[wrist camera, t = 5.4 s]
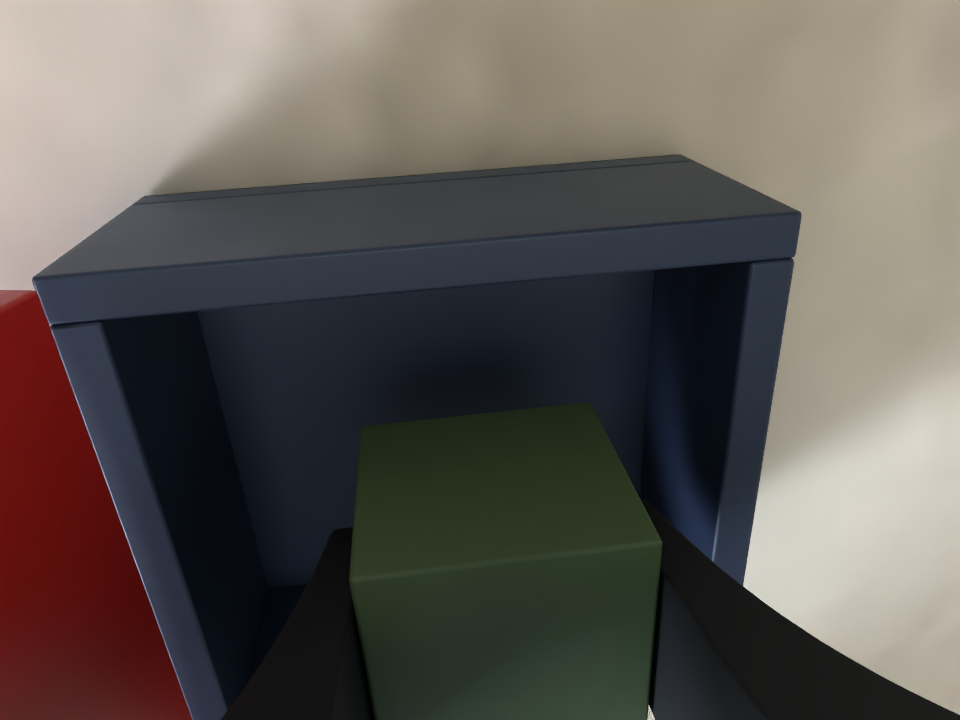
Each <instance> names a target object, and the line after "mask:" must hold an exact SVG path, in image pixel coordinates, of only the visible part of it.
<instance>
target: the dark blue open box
mask: <svg viewBox="0 0 960 720" xmlns="http://www.w3.org/2000/svg"><path fill="white" fill-rule="evenodd" d="M801 217H802V215H801V212H800V211H797V210H795V209H793V208H791V207H789V206H787V205H785V204H783V203H781V202H779V201H777V200H774V199H772V198H770V197H768V196H766V195H764V194H762V193H760V192H758V191H756V190H754V189H752V188H749V187H747V186H745V185H743V184H741V183H739V182H737V181H735V180H733V179H731V178H729V177H726V176H724V175H722V174H720V173H718V172H716V171H714V170H712V169H710V168H708V167H706V166H704V165H701V164H699V163H697V162H695V161H693V160H691V159H689V158H687V157H685V156H683V155H670V156H657V157H645V158H632V159H619V160H606V161H593V162H580V163H567V164H554V165H541V166H528V167H515V168H502V169H490V170H477V171H464V172H451V173H438V174H425V175H412V176H399V177H386V178H373V179H360V180H348V181H335V182H322V183H309V184H296V185H283V186H270V187H257V188H244V189H231V190H218V191H205V192H193V193H180V194H167V195H154V196H144V197H142V198H141V199H140V200H138V201H137V202H136V203H134V204H133V205H132V206H130V207H129V208H127V209H126V210H125V211H123V212H122V213H120V214H119V215H118V216H116V217H115V218H114V219H112V220H111V221H109V222H108V223H107V224H105V225H104V226H103V227H101V228H100V229H99V230H97V231H96V232H94V233H93V234H92V235H90V236H89V237H88V238H86V239H85V240H83V241H82V242H81V243H79V244H78V245H77V246H75V247H74V248H73V249H71V250H70V251H68V252H67V253H66V254H64V255H63V256H62V257H60V258H59V259H57V260H56V261H55V262H53V263H52V264H51V265H49V266H48V267H46V268H45V269H44V270H42V271H41V272H40V273H38V274H37V275H36V276H34V277H33V285H34V287H35V290H36V292H37V294H38V295H39V298H40V301H41V304H42V306H43V309H44V312H45V315H46V317H47V320H48V323H49V324H51V326H50V328H51V331H52V334H53V337H54V339H55V342H56V345H57V348H58V350H59V353H60V356H61V359H62V361H63V364H64V367H65V370H66V372H67V375H68V378H69V381H70V383H71V386H72V389H73V392H74V395H75V397H76V400H77V403H78V406H79V408H80V411H81V414H82V417H83V419H84V422H85V425H86V428H87V430H88V433H89V436H90V439H91V441H92V444H93V447H94V450H95V452H96V455H97V458H98V461H99V463H100V466H101V469H102V472H103V474H104V477H105V480H106V483H107V485H108V488H109V491H110V494H111V496H112V499H113V502H114V505H115V507H116V510H117V513H118V516H119V518H120V521H121V524H122V527H123V529H124V532H125V535H126V538H127V540H128V543H129V546H130V549H131V551H132V554H133V557H134V560H135V562H136V565H137V568H138V571H139V573H140V576H141V579H142V582H143V584H144V587H145V590H146V593H147V595H148V598H149V601H150V604H151V606H152V609H153V612H154V615H155V617H156V620H157V623H158V626H159V628H160V631H161V634H162V637H163V639H164V642H165V645H166V648H167V650H168V653H169V656H170V659H171V661H172V664H173V667H174V670H175V672H176V675H177V678H178V681H179V683H180V686H181V689H182V692H183V694H184V697H185V700H186V703H187V705H188V708H189V711H190V714H191V716H192V719H193V720H221V718H222V717H223V716H224V714H225V713H226V712H227V711H228V709H229V708H230V707H231V705H232V704H233V702H234V701H235V700H236V698H237V697H238V696H239V694H240V693H241V692H242V690H243V689H244V687H245V686H246V685H247V683H248V682H249V680H250V679H251V677H252V676H253V675H254V673H255V672H256V670H257V669H258V667H259V666H260V664H261V663H262V661H263V660H264V658H265V656H266V655H267V653H268V652H269V650H270V648H271V647H272V645H273V644H274V642H275V640H276V639H277V637H278V636H279V634H280V632H281V631H282V629H283V627H284V626H285V624H286V622H287V621H288V619H289V617H290V615H291V613H292V612H293V610H294V608H295V606H296V604H297V602H298V601H299V599H300V597H301V595H302V593H303V592H304V590H305V588H306V586H307V584H308V582H309V580H310V578H311V576H312V574H313V572H314V570H315V568H316V566H317V564H318V561H319V559H320V557H321V555H322V552H323V550H324V548H325V545H326V543H327V540H328V538H329V535H330V534H331V533H332V532H333V531H334V530H335V529H341V528H350V527H353V521H354V507H355V494H356V480H357V467H358V453H359V440H360V429H361V427H363V426H368V425H377V424H387V423H396V422H406V421H416V420H425V419H435V418H444V417H454V416H463V415H473V414H482V413H492V412H501V411H511V410H520V409H530V408H539V407H549V406H558V405H568V404H577V403H587V402H588V403H591V404H592V406H593V408H594V410H595V412H596V414H597V416H598V418H599V420H600V422H601V424H602V426H603V428H604V430H605V432H606V434H607V435H608V437H609V439H610V441H611V443H612V445H613V447H614V449H615V451H616V453H617V455H618V457H619V459H620V461H621V463H622V465H623V467H624V469H625V470H626V472H627V474H628V476H629V478H630V480H631V482H632V484H633V486H634V488H635V490H636V492H637V494H640V495H641V496H642V497H643V498H644V499H645V500H647V501H648V502H649V503H650V504H651V505H652V506H653V507H654V508H655V509H656V510H657V511H658V512H659V513H660V514H661V515H662V516H663V517H664V518H666V519H667V520H668V521H669V522H670V523H671V524H672V525H673V526H674V527H675V528H676V529H677V530H678V531H679V532H680V533H682V534H683V535H684V536H685V537H686V538H687V539H688V540H689V541H690V542H691V543H692V544H694V545H695V546H696V547H697V548H698V549H699V550H700V551H701V552H703V553H704V554H705V555H706V556H707V557H708V558H710V559H711V560H712V561H713V562H714V563H715V564H717V565H718V566H719V567H720V568H721V569H722V570H724V571H725V572H726V573H727V574H728V575H730V576H731V577H732V578H733V579H734V580H736V581H737V582H738V583H739V584H741V585H742V586H743V582H744V576H745V569H746V563H747V557H748V550H749V544H750V538H751V531H752V525H753V519H754V512H755V506H756V500H757V493H758V487H759V481H760V474H761V468H762V462H763V455H764V449H765V443H766V437H767V430H768V424H769V418H770V411H771V405H772V399H773V392H774V386H775V380H776V373H777V367H778V361H779V354H780V348H781V342H782V335H783V329H784V323H785V316H786V310H787V304H788V298H789V291H790V285H791V279H792V272H793V266H794V260H793V259H792V257H794V256H795V254H796V248H797V242H798V236H799V229H800V223H801Z"/></svg>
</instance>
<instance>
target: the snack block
mask: <svg viewBox="0 0 960 720" xmlns="http://www.w3.org/2000/svg"><path fill="white" fill-rule="evenodd" d="M661 553H662V541H661V539H660V537H659V535H658V533H657V531H656V529H655V527H654V525H653V523H652V521H651V519H650V517H649V515H648V513H647V511H646V509H645V507H644V505H643V504H642V502H641V500H640V498H639V496H638V494H637V492H636V490H635V488H634V486H633V484H632V482H631V480H630V478H629V476H628V474H627V472H626V470H625V469H624V467H623V465H622V463H621V461H620V459H619V457H618V455H617V453H616V451H615V449H614V447H613V445H612V443H611V441H610V439H609V437H608V435H607V434H606V432H605V430H604V428H603V426H602V424H601V422H600V420H599V418H598V416H597V414H596V412H595V410H594V408H593V406H592V404H591V403H588V402H587V403H577V404H568V405H558V406H549V407H539V408H530V409H520V410H511V411H501V412H492V413H482V414H473V415H463V416H454V417H444V418H435V419H425V420H416V421H406V422H396V423H387V424H377V425H368V426H363V427H361V429H360V440H359V453H358V467H357V480H356V494H355V507H354V521H353V534H352V548H351V561H350V574H349V583H350V589H351V594H352V600H353V605H354V610H355V616H356V621H357V627H358V632H359V638H360V643H361V648H362V654H363V659H364V665H365V670H366V676H367V681H368V686H369V692H370V697H371V703H372V708H373V713H374V719H375V720H647V717H648V705H649V693H650V682H651V670H652V658H653V647H654V635H655V623H656V612H657V600H658V588H659V576H660V565H661Z"/></svg>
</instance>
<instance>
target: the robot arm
mask: <svg viewBox="0 0 960 720" xmlns="http://www.w3.org/2000/svg"><path fill="white" fill-rule="evenodd" d="M638 496H639V498H640V500H641V502H642V504H643V505H644V507H645V509H646V511H647V513H648V515H649V517H650V519H651V521H652V523H653V525H654V527H655V529H656V531H657V533H658V535H659V537H660V539H661V541H662V553H661V565H660V576H659V588H658V600H657V612H656V623H655V635H654V647H653V658H652V670H651V682H650V693H649V706H650V708H651V710H652V713H653V715H654V717H655V720H960V715H958V714H956V713H954V712H952V711H950V710H947V709H945V708H943V707H941V706H939V705H937V704H935V703H933V702H931V701H929V700H927V699H925V698H923V697H921V696H919V695H917V694H915V693H913V692H911V691H909V690H906V689H905V688H903V687H901V686H899V685H897V684H895V683H893V682H891V681H889V680H887V679H886V678H884V677H882V676H880V675H878V674H876V673H874V672H873V671H871V670H869V669H867V668H866V667H864V666H862V665H860V664H859V663H857V662H855V661H853V660H852V659H850V658H848V657H846V656H845V655H843V654H841V653H839V652H838V651H836V650H834V649H833V648H831V647H830V646H828V645H826V644H825V643H823V642H821V641H820V640H818V639H817V638H815V637H814V636H812V635H811V634H809V633H808V632H806V631H805V630H803V629H802V628H800V627H799V626H797V625H796V624H794V623H792V622H791V621H789V620H788V619H786V618H785V617H783V616H782V615H781V614H779V613H778V612H776V611H775V610H774V609H772V608H771V607H769V606H768V605H767V604H765V603H764V602H763V601H761V600H760V599H759V598H757V597H756V596H755V595H753V594H752V593H751V592H750V591H748V590H747V589H746V588H744V587H743V586H742V585H741V584H739V583H738V582H737V581H736V580H734V579H733V578H732V577H731V576H730V575H728V574H727V573H726V572H725V571H724V570H722V569H721V568H720V567H719V566H718V565H717V564H715V563H714V562H713V561H712V560H711V559H710V558H708V557H707V556H706V555H705V554H704V553H703V552H701V551H700V550H699V549H698V548H697V547H696V546H695V545H694V544H692V543H691V542H690V541H689V540H688V539H687V538H686V537H685V536H684V535H683V534H682V533H680V532H679V531H678V530H677V529H676V528H675V527H674V526H673V525H672V524H671V523H670V522H669V521H668V520H667V519H666V518H664V517H663V516H662V515H661V514H660V513H659V512H658V511H657V510H656V509H655V508H654V507H653V506H652V505H651V504H650V503H649V502H648V501H647V500H645V499H644V498H643V497H642V496H641V495H640V494H638ZM352 534H353V527H350V528H341V529H335V530H334V531H333V532H332V533H331V534H330V535H329V538H328V540H327V543H326V545H325V548H324V550H323V552H322V555H321V557H320V559H319V561H318V564H317V566H316V568H315V570H314V572H313V574H312V576H311V578H310V580H309V582H308V584H307V586H306V588H305V590H304V592H303V593H302V595H301V597H300V599H299V601H298V602H297V604H296V606H295V608H294V610H293V612H292V613H291V615H290V617H289V619H288V621H287V622H286V624H285V626H284V627H283V629H282V631H281V632H280V634H279V636H278V637H277V639H276V640H275V642H274V644H273V645H272V647H271V648H270V650H269V652H268V653H267V655H266V656H265V658H264V660H263V661H262V663H261V664H260V666H259V667H258V669H257V670H256V672H255V673H254V675H253V676H252V677H251V679H250V680H249V682H248V683H247V685H246V686H245V687H244V689H243V690H242V692H241V693H240V694H239V696H238V697H237V698H236V700H235V701H234V702H233V704H232V705H231V707H230V708H229V709H228V711H227V712H226V713H225V714H224V716H223V717H222V718H221V720H375V719H374V713H373V708H372V703H371V697H370V692H369V686H368V681H367V676H366V670H365V665H364V659H363V654H362V648H361V643H360V638H359V632H358V627H357V621H356V616H355V610H354V605H353V600H352V594H351V589H350V583H349V574H350V561H351V548H352Z"/></svg>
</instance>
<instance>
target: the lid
mask: <svg viewBox="0 0 960 720" xmlns="http://www.w3.org/2000/svg"><path fill="white" fill-rule="evenodd" d="M0 720H193V719H192V716H191V714H190V711H189V708H188V705H187V703H186V700H185V697H184V694H183V692H182V689H181V686H180V683H179V681H178V678H177V675H176V672H175V670H174V667H173V664H172V661H171V659H170V656H169V653H168V650H167V648H166V645H165V642H164V639H163V637H162V634H161V631H160V628H159V626H158V623H157V620H156V617H155V615H154V612H153V609H152V606H151V604H150V601H149V598H148V595H147V593H146V590H145V587H144V584H143V582H142V579H141V576H140V573H139V571H138V568H137V565H136V562H135V560H134V557H133V554H132V551H131V549H130V546H129V543H128V540H127V538H126V535H125V532H124V529H123V527H122V524H121V521H120V518H119V516H118V513H117V510H116V507H115V505H114V502H113V499H112V496H111V494H110V491H109V488H108V485H107V483H106V480H105V477H104V474H103V472H102V469H101V466H100V463H99V461H98V458H97V455H96V452H95V450H94V447H93V444H92V441H91V439H90V436H89V433H88V430H87V428H86V425H85V422H84V419H83V417H82V414H81V411H80V408H79V406H78V403H77V400H76V397H75V395H74V392H73V389H72V386H71V383H70V381H69V378H68V375H67V372H66V370H65V367H64V364H63V361H62V359H61V356H60V353H59V350H58V348H57V345H56V342H55V339H54V337H53V334H52V331H51V328H50V326H49V323H48V320H47V317H46V315H45V312H44V309H43V306H42V304H41V301H40V298H39V295H38V294H37V292H36V291H26V290H0Z"/></svg>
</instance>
